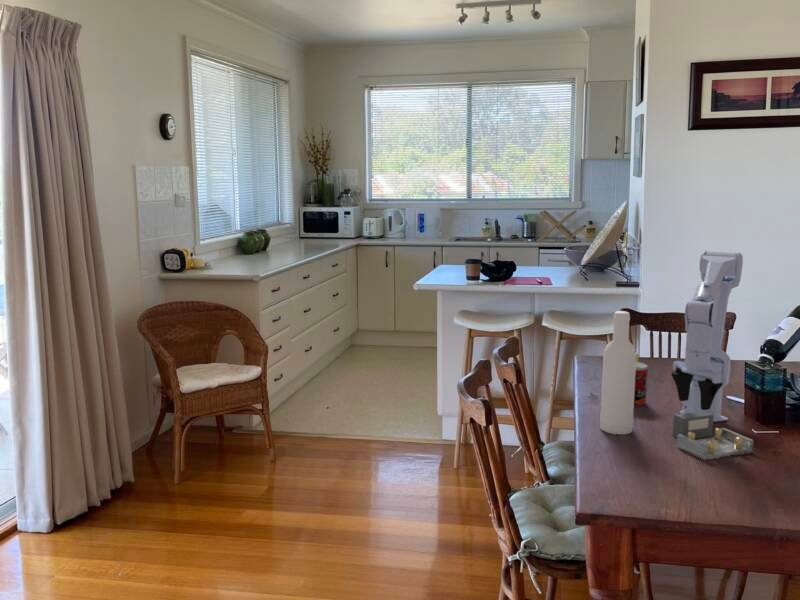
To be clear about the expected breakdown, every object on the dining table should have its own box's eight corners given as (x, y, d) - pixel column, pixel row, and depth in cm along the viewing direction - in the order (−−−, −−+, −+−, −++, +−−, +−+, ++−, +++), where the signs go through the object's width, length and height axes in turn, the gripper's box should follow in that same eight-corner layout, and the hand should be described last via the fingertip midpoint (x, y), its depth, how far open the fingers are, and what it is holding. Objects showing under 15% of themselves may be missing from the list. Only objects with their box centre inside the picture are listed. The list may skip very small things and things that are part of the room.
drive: (672, 436, 186) (673, 414, 185) (701, 431, 189) (703, 410, 188) (682, 440, 183) (684, 418, 182) (712, 436, 186) (713, 414, 185)
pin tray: (676, 446, 178) (677, 432, 178) (723, 439, 183) (724, 425, 182) (703, 460, 170) (704, 445, 169) (752, 452, 175) (753, 438, 174)
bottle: (612, 436, 185) (618, 316, 180) (593, 426, 192) (598, 310, 187) (639, 432, 188) (646, 313, 183) (619, 423, 195) (625, 308, 190)
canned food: (640, 408, 207) (642, 369, 206) (612, 403, 212) (613, 365, 210) (649, 401, 213) (652, 363, 212) (622, 396, 218) (624, 359, 216)
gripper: (664, 345, 188) (661, 398, 190) (706, 358, 174) (702, 415, 176) (687, 343, 190) (683, 395, 192) (730, 355, 177) (726, 412, 179)
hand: (694, 404), depth 185 cm, fingers open, 7 cm apart
